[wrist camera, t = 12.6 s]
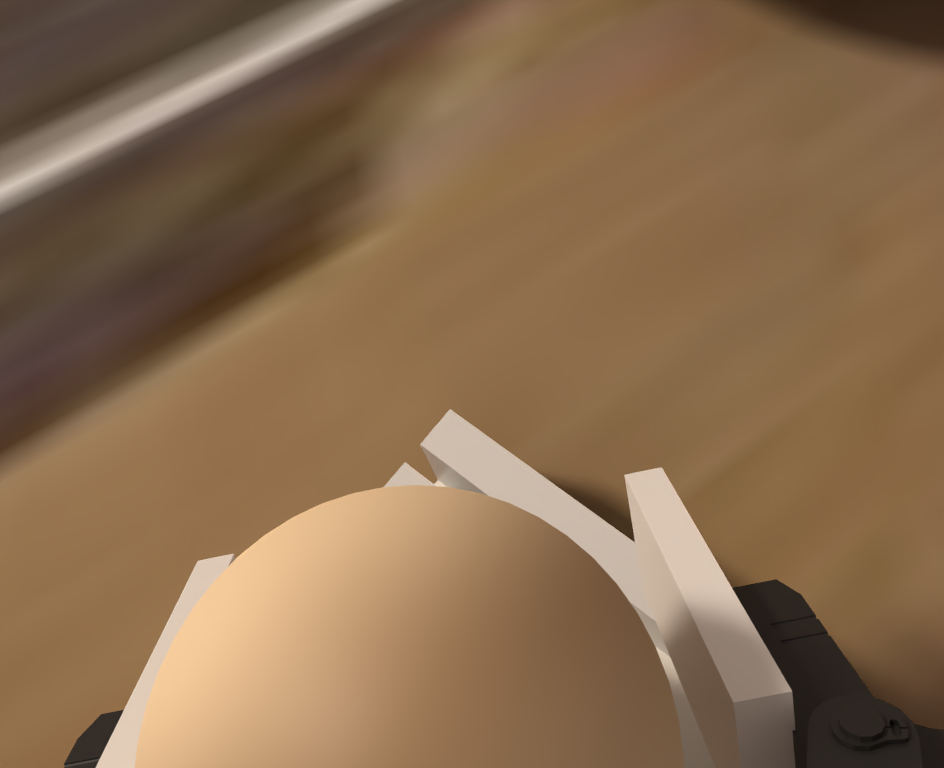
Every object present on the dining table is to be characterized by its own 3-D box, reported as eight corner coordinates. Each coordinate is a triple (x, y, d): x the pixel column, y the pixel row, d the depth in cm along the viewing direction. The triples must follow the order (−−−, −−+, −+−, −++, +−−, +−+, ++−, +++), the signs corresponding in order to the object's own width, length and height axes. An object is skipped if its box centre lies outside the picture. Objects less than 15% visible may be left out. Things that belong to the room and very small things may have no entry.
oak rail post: (328, 770, 21) (24, 796, 9) (476, 581, 23) (378, 394, 11) (516, 952, 19) (434, 1279, 7) (665, 731, 21) (796, 706, 9)
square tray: (200, 783, 22) (127, 788, 19) (468, 459, 25) (450, 409, 22) (541, 1146, 18) (532, 1239, 15) (811, 713, 21) (859, 704, 18)
